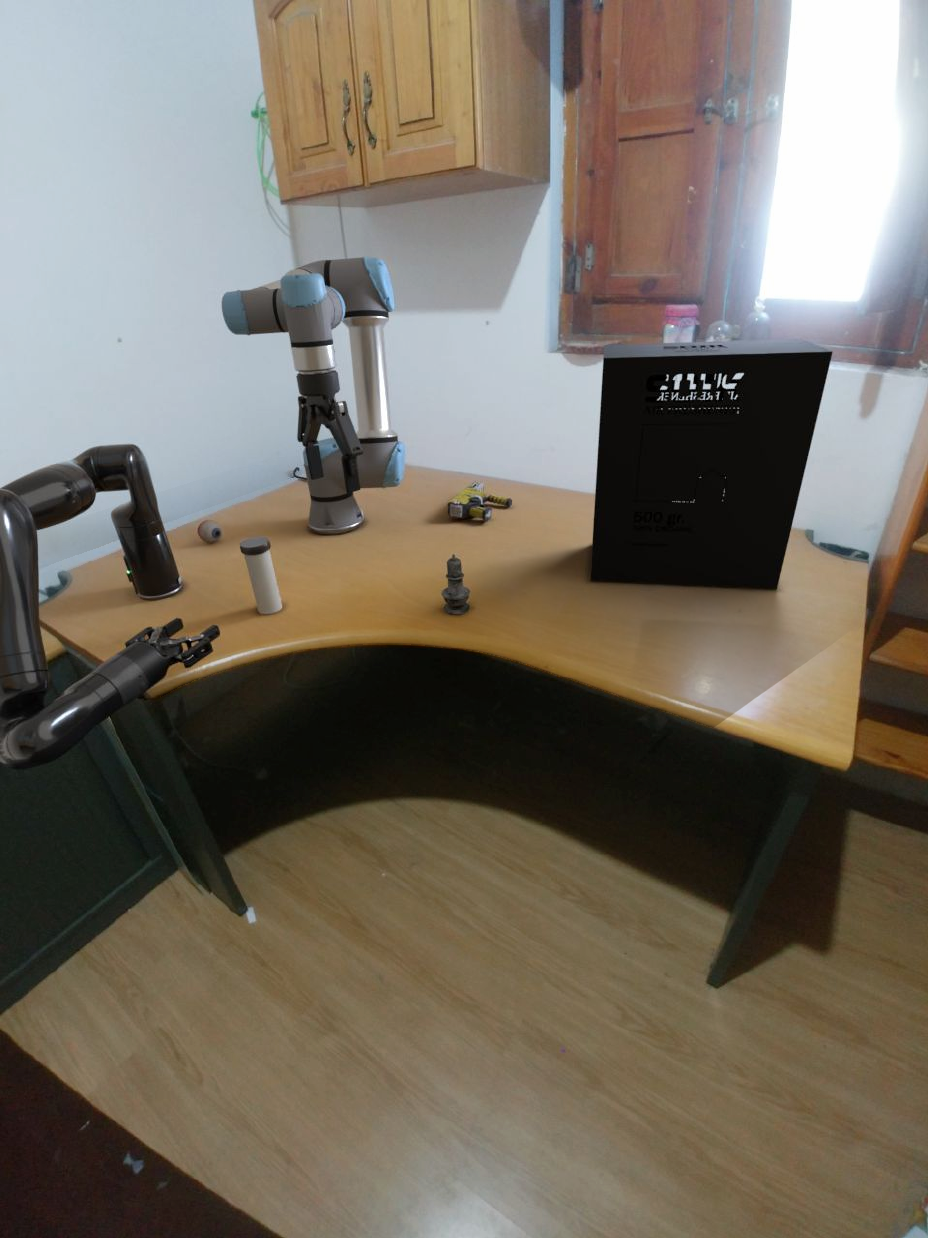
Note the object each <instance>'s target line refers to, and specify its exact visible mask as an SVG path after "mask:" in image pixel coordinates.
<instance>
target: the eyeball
mask: <svg viewBox="0 0 928 1238" xmlns="http://www.w3.org/2000/svg"><path fill="white" fill-rule="evenodd" d="M222 534H223V529H222V527H221V525H220V524H219V523H218V522H217V521H215V520H212V519H207V520H204V521H202V522H201V523H200V524H199V525H198V527H197V535H198V538H199V539H201V540H202V541H203V542H205V543H208V544H213V543H216V542H218V541H219V540H220V539H221V538H222Z"/></svg>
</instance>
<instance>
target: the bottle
mask: <svg viewBox="0 0 928 1238" xmlns="http://www.w3.org/2000/svg"><path fill="white" fill-rule="evenodd" d="M271 555H272V554H271V551H270V549H269V550H268V551H266V552H264V553H261V554H257V555H245V554H243V556H244V561H245V563H246V568H247V571H248V576H249V580H250V584H251V588H252V591H253V595H254V600H255V604H256V607H257V611H258V613H259V614H260V615H272V614H275V613H278V612H280V611H281V610H282V609H283V603H282V599H281V594H280V591H279V587H278V581H277V577H276V572H275V570H274V564H273V559H272V556H271Z"/></svg>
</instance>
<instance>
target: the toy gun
mask: <svg viewBox="0 0 928 1238" xmlns="http://www.w3.org/2000/svg"><path fill="white" fill-rule="evenodd" d="M487 502H488V503H493V504H496V505H500V506H504V507H506V508H510V507H511V506H512V505H513V499H512V498H509V497H504V496H500V495H499V496H498V495H494V494H492V493H490V494H489V495H488V496H487V495H486V492H485V483H484V482H483V481H480V482H479V481H477V480H474V482H473V483H471V484H470V485H468V486H467V487H465V488H464V489H462V491H460V492H459V493H458V494H456V496H454V497H453V498H452V499H451V500H449V501H448V502H447V505H446V514H447V516H448V517H451V518H452V519H455V520H458V519H459V518H460V519H467V518H471V517H475V518H479V519H482V522H484V523H485V522H487V521H488V520H491V518H492V512H493V507H492V506H485V505H484V504H486V503H487Z"/></svg>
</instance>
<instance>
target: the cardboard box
mask: <svg viewBox="0 0 928 1238" xmlns="http://www.w3.org/2000/svg"><path fill="white" fill-rule="evenodd" d="M833 353H834V352H833V350H830V349H827V348H826V347H825V348H824V347H822V346H821V345H818V344H815V343H813V342H810V341H808V340H805V339H802V338H783V339H782V338H781V339H779V338H777V339H776V338H775V339H749V340H747V339H746V340H723V341H722V340H720V341H719V340H718V341H689V342H687V341H685V342H683V341H682V342H657V343H654V342H653V343H627V344H625V343H624V344H623V343H621V344H604V345H603V359H602V362H603V363H602V375H601V389H600V390H601V392H600V409H599V424H598V425H599V426H598V427H599V428H598V442H597V457H596V458H597V459H596V460H597V461H596V475H595V493H594V496H595V497H594V508H593V509H594V510H593V525H592V527H593V528H592V541H591V557H590V558H591V560H590V575H589V576H590V577H589V580H590V582H603V583H622V584H623V583H625V584H626V583H628V584H645V585H647V584H648V585H669V586H670V585H671V586H693V587H712V588H714V587H715V588H734V589H735V588H737V589H755V590H757V589H758V590H759V589H760V590H778V586H779V582H780V577H781V574H782V570H783V565H784V561H785V556H786V553H787V548H788V543H789V539H790V536H791V531H792V526H793V522H794V519H795V513H796V510H797V505H798V501H799V497H800V493H801V489H802V484H803V480H804V476H805V471H806V467H807V464H808V463H807V462H808V458H809V455H810V450H811V446H812V442H813V437H814V434H815V430H816V425H817V421H818V417H819V411H820V407H821V404H822V400H823V399H822V398H823V394H824V390H825V386H826V381H827V378H828V374H829V369H830V366H831V360H832V356H833ZM738 374H742V376H741V377H740V378H735V376H736V375H738ZM678 375H681V379H680V380H679V384H678V388H675V385H676V379H675V377H676V376H678ZM689 375H693V380H692V381H691V379H688V376H689ZM702 375H704V379H702ZM719 378H720V382H719ZM724 378H725V382H724ZM723 382H724V385H730V384H731V385H734V388H725V387H724V386H723ZM691 383H692V385H695V388H691ZM705 385H710V388H704V386H705ZM662 387H666V389H662Z"/></svg>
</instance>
